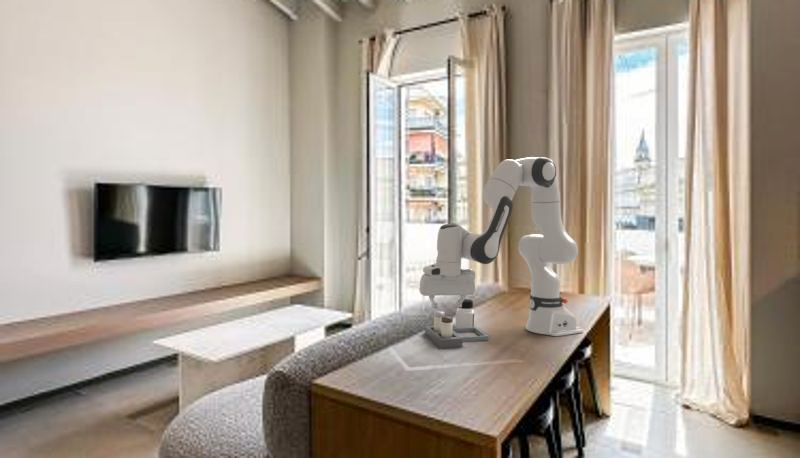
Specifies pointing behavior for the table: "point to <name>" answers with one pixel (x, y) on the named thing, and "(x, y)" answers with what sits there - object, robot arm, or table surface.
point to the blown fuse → (446, 326)
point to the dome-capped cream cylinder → (438, 320)
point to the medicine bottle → (465, 315)
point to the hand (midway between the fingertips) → (446, 307)
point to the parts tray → (471, 338)
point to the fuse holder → (442, 339)
